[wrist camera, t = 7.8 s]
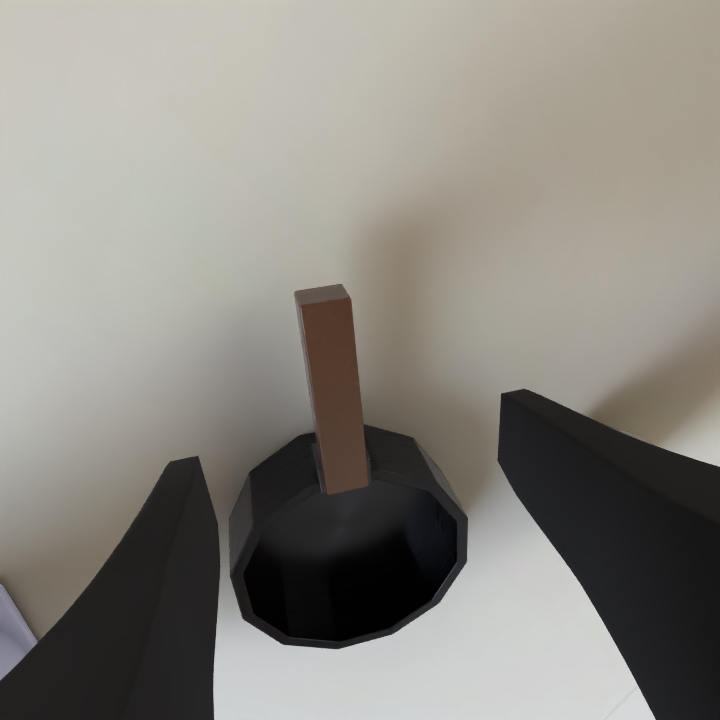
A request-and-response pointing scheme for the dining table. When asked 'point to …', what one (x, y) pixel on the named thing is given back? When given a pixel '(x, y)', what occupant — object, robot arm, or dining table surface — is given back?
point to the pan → (342, 511)
